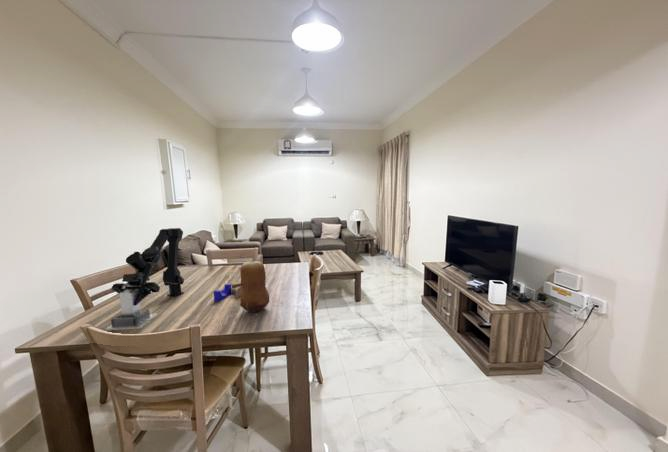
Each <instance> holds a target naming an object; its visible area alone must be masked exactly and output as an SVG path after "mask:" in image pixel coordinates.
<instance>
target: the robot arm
mask: <svg viewBox="0 0 668 452" xmlns="http://www.w3.org/2000/svg"><path fill="white" fill-rule="evenodd" d="M183 234H184V231H183V230H182V229H181V228H180V227H178V228H177V227H176V228H175V227H173V228H162V229H160V230H159V232H158V234H157V236H156V237H155V239H154V240H153V242H152V244H151V245H150V246H149V247H148V248H146V249H144V250H143V251H142V252H139V251H134V252H133V253H132V254H130V255H128V256H127V257H126V258H125V262H126V263H127V265H129V267H131V268H132V269H134V270H135V271H136V272H135V273H127V274H123V275H122V280H121V281H122V282H121V283H120V282H119V283H118V282H117V283H114V284H112V286H111V288H110V289H111V290H112V291H113V292H115V293H117V294H119V293H121V292H123V291H125V290H127V289H138V295H137V297H136V300H135V302H134V305H135V306H136V305H137V304H138V303H139V302H140V303H141V302H142V301H143V300H144V299H146V297H148V296H149V295H151V294H152V293H159V292H160V289H161V287H160V285H158V284H157V283H156V281H155V282H154V281H151V282H150V274H151V272H152V271H155V270H156V269H155V268H156V267H154V264H156V263H158V262H159V261H160V258H161V256H162V254H161V250H162V249H163V247H164V245H165V244H166V242H168V249H167V250H168V252H167V253H168V254H167V266H166V267H167V268H166V269H165V270H163V272H162V282H163V284H164V286H165V287H166V286H168V291H169V292H168V293H167V294H166V296H169V297H172V298H173V297H177V296H180V295H183V294H184V291H182V287H181V286H182V285H184V284H185V278H183V276H181V271H180V269H179V267H178V261H179V244H180V242H181V241H182V239H183ZM147 281H148V282H147ZM124 282H126V284H127V285H126V284H125V283H124Z"/></svg>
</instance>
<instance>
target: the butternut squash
mask: <svg viewBox="0 0 668 452" xmlns="http://www.w3.org/2000/svg"><path fill="white" fill-rule="evenodd" d="M266 276H267V275H266V270H265V265H264V263H263V262H261V261H259V260H258V261H257V260H256V261H249V260H248V261H245V262H243V264H241V265H240V281H241V286H242V292H241V296H239V297H240V299H239V301H240V303H239V304H240V305H239V306H240V307H241V308H242V309H243V310H245V311H247V312H250V313H251V312H255V313H258V312H260V311H262V310H263V309H265V308H266V307H267V306H268V305H269V303H270V294H269V291H268V289H267V287H266V279H267V278H266Z"/></svg>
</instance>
